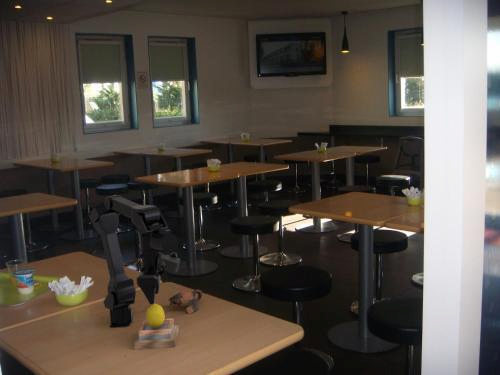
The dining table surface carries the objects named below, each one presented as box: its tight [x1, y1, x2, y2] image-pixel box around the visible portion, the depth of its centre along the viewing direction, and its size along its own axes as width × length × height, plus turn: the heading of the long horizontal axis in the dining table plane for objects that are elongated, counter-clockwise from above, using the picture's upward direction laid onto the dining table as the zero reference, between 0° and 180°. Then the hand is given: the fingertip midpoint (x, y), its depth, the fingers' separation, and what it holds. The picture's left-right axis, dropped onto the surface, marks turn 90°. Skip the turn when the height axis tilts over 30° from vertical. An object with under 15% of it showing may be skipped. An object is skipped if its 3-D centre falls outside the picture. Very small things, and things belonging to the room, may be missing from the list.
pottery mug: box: [168, 288, 204, 315], centre depth 199 cm, size 12×10×8 cm
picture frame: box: [133, 318, 180, 350], centre depth 174 cm, size 12×12×5 cm
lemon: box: [145, 302, 166, 329], centre depth 173 cm, size 6×6×8 cm
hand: (154, 298), depth 172 cm, fingers open, 9 cm apart
